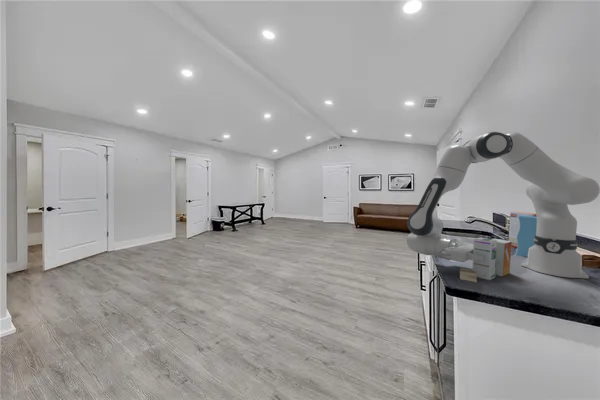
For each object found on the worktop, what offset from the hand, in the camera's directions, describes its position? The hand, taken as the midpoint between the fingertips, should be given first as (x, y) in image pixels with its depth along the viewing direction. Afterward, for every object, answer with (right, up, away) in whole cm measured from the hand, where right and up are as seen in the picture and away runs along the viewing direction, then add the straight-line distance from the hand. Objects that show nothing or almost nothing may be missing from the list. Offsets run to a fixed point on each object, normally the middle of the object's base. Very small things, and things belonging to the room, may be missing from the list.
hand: (487, 256), depth 89 cm
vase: (+47, -8, +33) cm, 58 cm away
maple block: (-8, -8, -1) cm, 12 cm away
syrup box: (-1, -8, +1) cm, 8 cm away
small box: (+8, -8, +6) cm, 13 cm away
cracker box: (+59, -7, +48) cm, 77 cm away
